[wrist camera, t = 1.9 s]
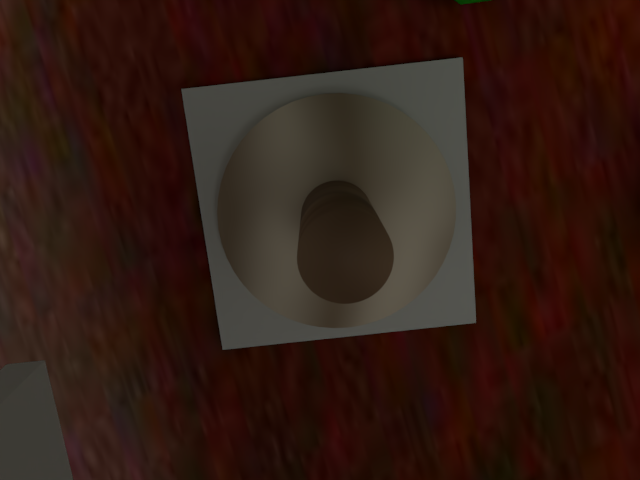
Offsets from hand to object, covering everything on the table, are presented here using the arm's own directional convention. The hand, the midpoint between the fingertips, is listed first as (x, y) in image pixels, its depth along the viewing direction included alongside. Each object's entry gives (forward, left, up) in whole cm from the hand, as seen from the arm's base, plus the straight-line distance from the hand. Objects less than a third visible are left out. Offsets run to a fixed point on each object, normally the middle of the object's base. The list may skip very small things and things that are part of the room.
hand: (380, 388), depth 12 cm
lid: (0, 0, -20) cm, 20 cm away
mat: (0, 0, -20) cm, 20 cm away
